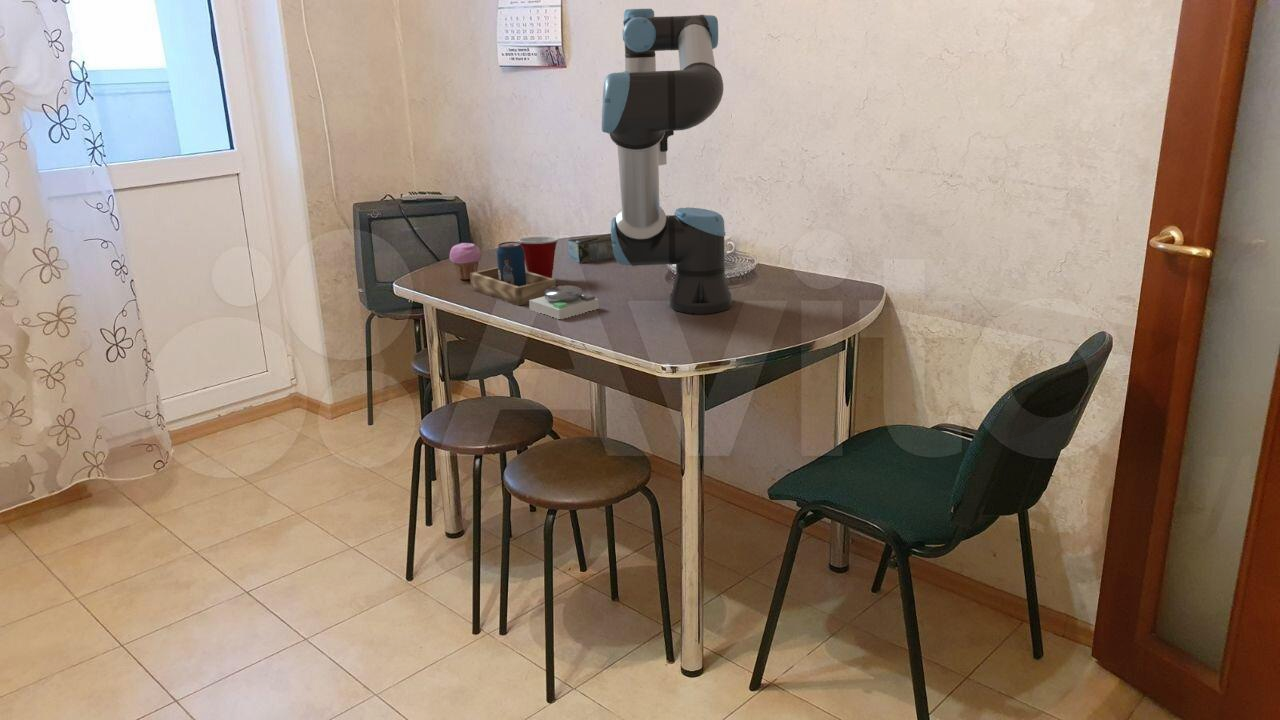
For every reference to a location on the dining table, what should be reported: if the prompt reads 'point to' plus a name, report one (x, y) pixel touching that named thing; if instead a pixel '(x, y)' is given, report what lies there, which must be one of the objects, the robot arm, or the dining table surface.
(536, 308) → the white flat block
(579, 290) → the shiny metal disc
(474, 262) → the cupcake
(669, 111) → the robot arm
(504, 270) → the soda can
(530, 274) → the trough
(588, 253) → the beverage carton
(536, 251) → the plastic cup
